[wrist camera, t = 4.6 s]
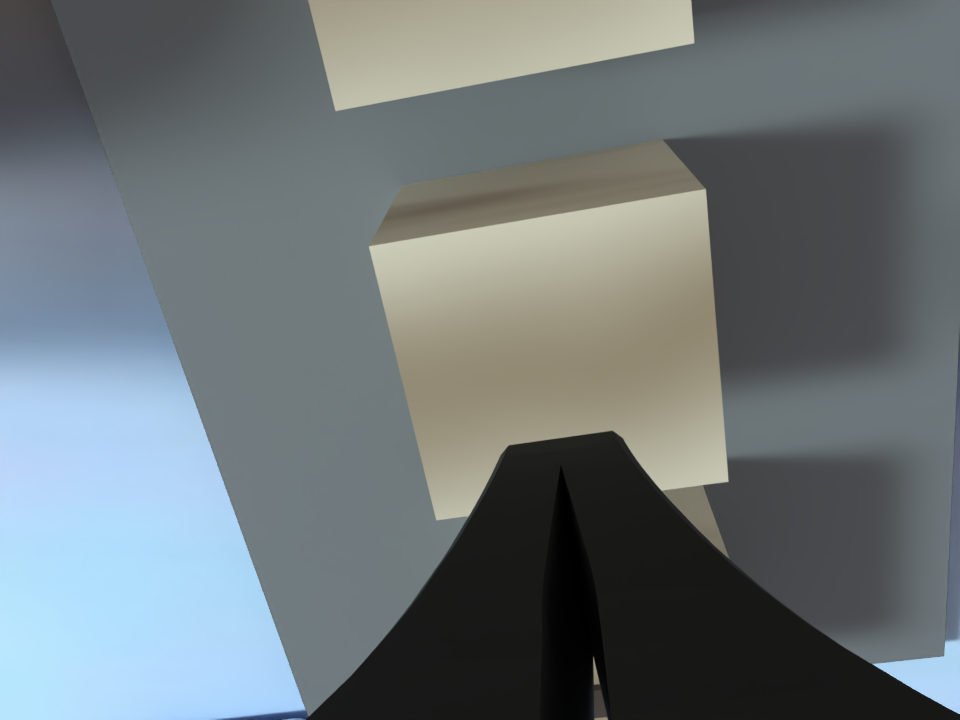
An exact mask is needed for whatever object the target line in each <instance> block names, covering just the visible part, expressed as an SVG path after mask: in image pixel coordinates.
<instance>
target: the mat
mask: <svg viewBox="0 0 960 720" xmlns="http://www.w3.org/2000/svg"><path fill="white" fill-rule="evenodd" d="M50 1H51V4H52V6H53V9H54V12H55V15H56V18H57V20H58V23H59V26H60V29H61V31H62V34H63V37H64V40H65V43H66V45H67V48H68V51H69V54H70V56H71V59H72V62H73V65H74V68H75V70H76V73H77V76H78V79H79V81H80V84H81V87H82V90H83V93H84V95H85V98H86V101H87V104H88V106H89V109H90V112H91V115H92V118H93V120H94V123H95V126H96V129H97V131H98V134H99V137H100V140H101V143H102V145H103V148H104V151H105V154H106V156H107V159H108V162H109V165H110V168H111V170H112V173H113V176H114V179H115V181H116V184H117V187H118V190H119V193H120V195H121V198H122V201H123V204H124V206H125V209H126V212H127V215H128V218H129V220H130V223H131V226H132V229H133V231H134V234H135V237H136V240H137V243H138V245H139V248H140V251H141V254H142V256H143V259H144V262H145V265H146V268H147V270H148V273H149V276H150V279H151V281H152V284H153V287H154V290H155V293H156V295H157V298H158V301H159V304H160V306H161V309H162V312H163V315H164V318H165V320H166V323H167V326H168V329H169V331H170V334H171V337H172V340H173V343H174V345H175V348H176V351H177V354H178V356H179V359H180V362H181V365H182V368H183V370H184V373H185V376H186V379H187V381H188V384H189V387H190V390H191V393H192V395H193V398H194V401H195V404H196V406H197V409H198V412H199V415H200V418H201V420H202V423H203V426H204V429H205V431H206V434H207V437H208V440H209V442H210V445H211V448H212V451H213V454H214V456H215V459H216V462H217V465H218V467H219V470H220V473H221V476H222V479H223V481H224V484H225V487H226V490H227V492H228V495H229V498H230V501H231V504H232V506H233V509H234V512H235V515H236V517H237V520H238V523H239V526H240V529H241V531H242V534H243V537H244V540H245V542H246V545H247V548H248V551H249V554H250V556H251V559H252V562H253V565H254V567H255V570H256V573H257V576H258V579H259V581H260V584H261V587H262V590H263V592H264V595H265V598H266V601H267V604H268V606H269V609H270V612H271V615H272V617H273V620H274V623H275V626H276V629H277V631H278V634H279V637H280V640H281V642H282V645H283V648H284V651H285V654H286V656H287V659H288V662H289V665H290V667H291V670H292V673H293V676H294V679H295V681H296V684H297V687H298V690H299V692H300V695H301V698H302V701H303V704H304V706H305V709H306V712H307V715H308V717H309V716H310V715H311V714H312V713H313V712H314V711H315V710H316V709H317V708H318V707H319V706H320V705H321V704H322V703H323V702H324V701H325V700H326V699H327V698H329V697H330V696H331V695H332V694H333V693H334V692H335V691H336V690H337V689H338V688H339V687H340V686H341V685H342V684H343V683H344V682H345V681H346V680H347V679H348V678H349V677H350V676H351V675H352V674H353V673H354V672H355V671H356V670H357V668H358V667H359V666H360V665H361V664H362V663H363V662H364V660H365V659H366V658H367V657H368V656H369V655H370V654H371V652H372V651H373V650H374V649H375V648H376V647H377V646H378V644H379V643H380V642H381V641H382V640H383V638H384V637H385V636H386V635H387V634H388V632H389V631H390V630H391V629H392V628H393V626H394V625H395V624H396V622H397V621H398V620H399V619H400V617H401V616H402V615H403V614H404V612H405V611H406V610H407V608H408V607H409V606H410V604H411V603H412V602H413V600H414V599H415V597H416V596H417V595H418V593H419V592H420V590H421V589H422V587H423V586H424V585H425V583H426V582H427V580H428V579H429V578H430V576H431V575H432V573H433V572H434V570H435V569H436V568H437V566H438V565H439V563H440V562H441V560H442V559H443V557H444V556H445V554H446V553H447V551H448V550H449V548H450V547H451V545H452V543H453V542H454V540H455V538H456V537H457V535H458V533H459V532H460V530H461V528H462V527H463V525H464V523H465V522H466V520H467V516H465V517H458V518H450V519H443V520H436V517H435V513H434V509H433V505H432V501H431V497H430V493H429V488H428V484H427V480H426V476H425V472H424V468H423V464H422V460H421V456H420V452H419V448H418V444H417V440H416V436H415V432H414V428H413V424H412V420H411V415H410V411H409V407H408V403H407V399H406V395H405V391H404V387H403V383H402V379H401V375H400V371H399V367H398V363H397V359H396V355H395V351H394V346H393V342H392V338H391V334H390V330H389V326H388V322H387V318H386V314H385V310H384V306H383V302H382V298H381V294H380V290H379V286H378V282H377V277H376V273H375V269H374V265H373V261H372V257H371V253H370V249H369V245H370V243H371V241H372V240H373V238H374V236H375V234H376V232H377V230H378V228H379V227H380V225H381V223H382V221H383V219H384V217H385V216H386V214H387V212H388V210H389V208H390V206H391V204H392V203H393V201H394V199H395V197H396V195H397V193H398V191H399V190H400V188H401V186H403V185H409V184H414V183H420V182H425V181H431V180H437V179H442V178H448V177H454V176H459V175H465V174H471V173H476V172H482V171H487V170H493V169H499V168H504V167H510V166H516V165H521V164H527V163H532V162H538V161H544V160H549V159H555V158H561V157H566V156H572V155H578V154H583V153H589V152H594V151H600V150H606V149H611V148H617V147H623V146H628V145H634V144H639V143H645V142H651V141H656V140H662V139H663V141H664V142H665V143H666V144H667V145H668V146H669V147H670V149H671V150H672V151H673V152H674V153H675V154H676V155H677V157H678V158H679V159H680V160H681V161H682V162H683V163H684V165H685V166H686V167H687V168H688V169H689V170H690V171H691V173H692V174H693V175H694V176H695V177H696V178H697V180H698V181H699V182H700V183H701V184H702V185H703V186H704V188H705V189H706V198H707V211H708V224H709V236H710V249H711V262H712V275H713V288H714V301H715V314H716V327H717V339H718V352H719V365H720V378H721V391H722V404H723V417H724V430H725V442H726V455H727V468H728V481H729V482H722V483H715V484H707V485H703V487H704V490H705V493H706V496H707V499H708V501H709V504H710V507H711V510H712V512H713V515H714V518H715V521H716V523H717V526H718V529H719V532H720V534H721V537H722V540H723V543H724V545H725V548H726V551H727V554H728V556H729V559H730V560H731V561H732V562H733V563H734V564H735V565H736V566H738V567H739V568H740V569H741V570H742V571H743V572H744V573H746V574H747V575H748V576H749V577H750V578H751V579H753V580H754V581H755V582H756V583H757V584H759V585H760V586H761V587H762V588H764V589H765V590H766V591H767V592H769V593H770V594H771V595H772V596H773V597H775V598H776V599H777V600H779V601H780V602H781V603H783V604H784V605H785V606H787V607H788V608H789V609H791V610H792V611H793V612H795V613H796V614H797V615H799V616H800V617H801V618H803V619H804V620H805V621H807V622H808V623H809V624H811V625H812V626H814V627H815V628H817V629H818V630H820V631H821V632H822V633H824V634H825V635H827V636H828V637H830V638H831V639H833V640H834V641H836V642H837V643H838V644H840V645H841V646H843V647H844V648H846V649H848V650H849V651H851V652H853V653H854V654H856V655H858V656H859V657H861V658H863V659H864V660H866V661H868V662H869V663H871V664H875V663H885V662H894V661H903V660H913V659H922V658H932V657H941V656H944V648H945V627H946V606H947V585H948V564H949V543H950V522H951V500H952V479H953V458H954V437H955V416H956V395H957V374H958V353H959V332H960V0H691V5H692V18H693V30H694V43H693V44H688V45H683V46H677V47H672V48H667V49H661V50H656V51H651V52H646V53H640V54H635V55H630V56H624V57H619V58H614V59H609V60H603V61H598V62H593V63H587V64H582V65H577V66H572V67H566V68H561V69H556V70H550V71H545V72H540V73H535V74H529V75H524V76H519V77H513V78H508V79H503V80H498V81H492V82H487V83H482V84H476V85H471V86H466V87H461V88H455V89H450V90H445V91H439V92H434V93H429V94H424V95H418V96H413V97H408V98H402V99H397V100H392V101H387V102H381V103H376V104H371V105H365V106H360V107H355V108H350V109H344V110H339V111H335V107H334V103H333V99H332V95H331V91H330V87H329V83H328V79H327V75H326V71H325V66H324V62H323V58H322V54H321V50H320V46H319V42H318V38H317V34H316V30H315V26H314V22H313V18H312V14H311V10H310V6H309V2H308V0H50Z"/></svg>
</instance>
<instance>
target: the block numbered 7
mask: <svg viewBox="0 0 960 720" xmlns="http://www.w3.org/2000/svg"><path fill="white" fill-rule="evenodd" d="M308 2H309V6H310V10H311V14H312V18H313V22H314V26H315V30H316V34H317V38H318V42H319V46H320V50H321V54H322V58H323V62H324V66H325V71H326V75H327V79H328V83H329V87H330V91H331V95H332V99H333V103H334V107H335V111H339V110H344V109H350V108H355V107H360V106H365V105H371V104H376V103H381V102H387V101H392V100H397V99H402V98H408V97H413V96H418V95H424V94H429V93H434V92H439V91H445V90H450V89H455V88H461V87H466V86H471V85H476V84H482V83H487V82H492V81H498V80H503V79H508V78H513V77H519V76H524V75H529V74H535V73H540V72H545V71H550V70H556V69H561V68H566V67H572V66H577V65H582V64H587V63H593V62H598V61H603V60H609V59H614V58H619V57H624V56H630V55H635V54H640V53H646V52H651V51H656V50H661V49H667V48H672V47H677V46H683V45H688V44H693V43H694V30H693V18H692V5H691V0H308Z"/></svg>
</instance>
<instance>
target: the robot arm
mask: <svg viewBox="0 0 960 720" xmlns="http://www.w3.org/2000/svg"><path fill="white" fill-rule="evenodd" d="M593 657H594V661H595V666H596V670H597V674H598V679H599V683H600V688H601V692H602V696H603V701H604V705H605V709H606V714H607V718H608V720H960V714H958V713H956V712H954V711H952V710H950V709H948V708H946V707H944V706H943V705H941V704H939V703H937V702H935V701H934V700H932V699H930V698H928V697H926V696H925V695H923V694H921V693H919V692H917V691H916V690H914V689H912V688H911V687H909V686H907V685H906V684H904V683H902V682H901V681H899V680H897V679H896V678H894V677H892V676H891V675H889V674H887V673H886V672H884V671H882V670H881V669H879V668H877V667H876V666H874V665H873V664H871V663H869V662H868V661H866V660H864V659H863V658H861V657H859V656H858V655H856V654H854V653H853V652H851V651H849V650H848V649H846V648H844V647H843V646H841V645H840V644H838V643H837V642H836V641H834V640H833V639H831V638H830V637H828V636H827V635H825V634H824V633H822V632H821V631H820V630H818V629H817V628H815V627H814V626H812V625H811V624H809V623H808V622H807V621H805V620H804V619H803V618H801V617H800V616H799V615H797V614H796V613H795V612H793V611H792V610H791V609H789V608H788V607H787V606H785V605H784V604H783V603H781V602H780V601H779V600H777V599H776V598H775V597H773V596H772V595H771V594H770V593H769V592H767V591H766V590H765V589H764V588H762V587H761V586H760V585H759V584H757V583H756V582H755V581H754V580H753V579H751V578H750V577H749V576H748V575H747V574H746V573H744V572H743V571H742V570H741V569H740V568H739V567H738V566H736V565H735V564H734V563H733V562H732V561H731V560H730V559H729V558H728V557H726V556H725V555H724V554H723V553H722V552H721V551H720V550H719V549H718V548H717V547H715V546H714V545H713V544H712V543H711V542H710V541H709V540H708V539H707V538H706V537H705V536H704V535H703V534H702V533H701V532H700V531H699V530H698V529H697V528H696V527H695V526H694V525H693V524H692V523H691V522H690V521H689V520H688V519H687V518H686V517H685V516H684V515H683V513H682V512H681V511H680V510H679V509H678V508H677V507H676V506H675V505H674V504H673V503H672V502H671V501H670V500H669V499H668V498H667V496H666V495H665V494H664V493H663V492H662V491H661V490H660V488H659V487H658V486H657V485H656V484H655V482H654V481H653V480H652V479H651V478H650V476H649V475H648V474H647V473H646V471H645V470H644V469H643V468H642V466H641V465H640V464H639V462H638V461H637V460H636V458H635V457H634V455H633V454H632V452H631V451H630V449H629V448H628V446H627V444H626V443H625V441H624V439H623V438H622V437H621V436H619V435H618V434H617V433H615V432H614V431H606V432H599V433H592V434H585V435H578V436H571V437H564V438H557V439H550V440H542V441H535V442H528V443H521V444H514V445H508V447H507V448H506V449H505V450H504V451H503V453H502V454H501V455H500V457H499V460H498V462H497V464H496V466H495V468H494V470H493V472H492V474H491V476H490V478H489V480H488V482H487V484H486V486H485V488H484V490H483V492H482V494H481V496H480V497H479V499H478V501H477V503H476V505H475V507H474V508H473V510H472V512H471V514H470V515H469V517H468V518H467V520H466V522H465V523H464V525H463V527H462V528H461V530H460V532H459V533H458V535H457V537H456V538H455V540H454V542H453V543H452V545H451V547H450V548H449V550H448V551H447V553H446V554H445V556H444V557H443V559H442V560H441V562H440V563H439V565H438V566H437V568H436V569H435V570H434V572H433V573H432V575H431V576H430V578H429V579H428V580H427V582H426V583H425V585H424V586H423V587H422V589H421V590H420V592H419V593H418V595H417V596H416V597H415V599H414V600H413V602H412V603H411V604H410V606H409V607H408V608H407V610H406V611H405V612H404V614H403V615H402V616H401V617H400V619H399V620H398V621H397V622H396V624H395V625H394V626H393V628H392V629H391V630H390V631H389V632H388V634H387V635H386V636H385V637H384V638H383V640H382V641H381V642H380V643H379V644H378V646H377V647H376V648H375V649H374V650H373V651H372V652H371V654H370V655H369V656H368V657H367V658H366V659H365V660H364V662H363V663H362V664H361V665H360V666H359V667H358V668H357V670H356V671H355V672H354V673H353V674H352V675H351V676H350V677H349V678H348V679H347V680H346V681H345V682H344V683H343V684H342V685H341V686H340V687H339V688H338V689H337V690H336V691H335V692H334V693H333V694H332V695H331V696H330V697H329V698H327V699H326V700H325V701H324V702H323V703H322V704H321V705H320V706H319V707H318V708H317V709H316V710H315V711H314V712H313V713H312V714H311V715H310V716H309V717H308V718H307V719H306V720H594V665H593ZM284 720H305V719H302V718H293V719H284Z"/></svg>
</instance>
